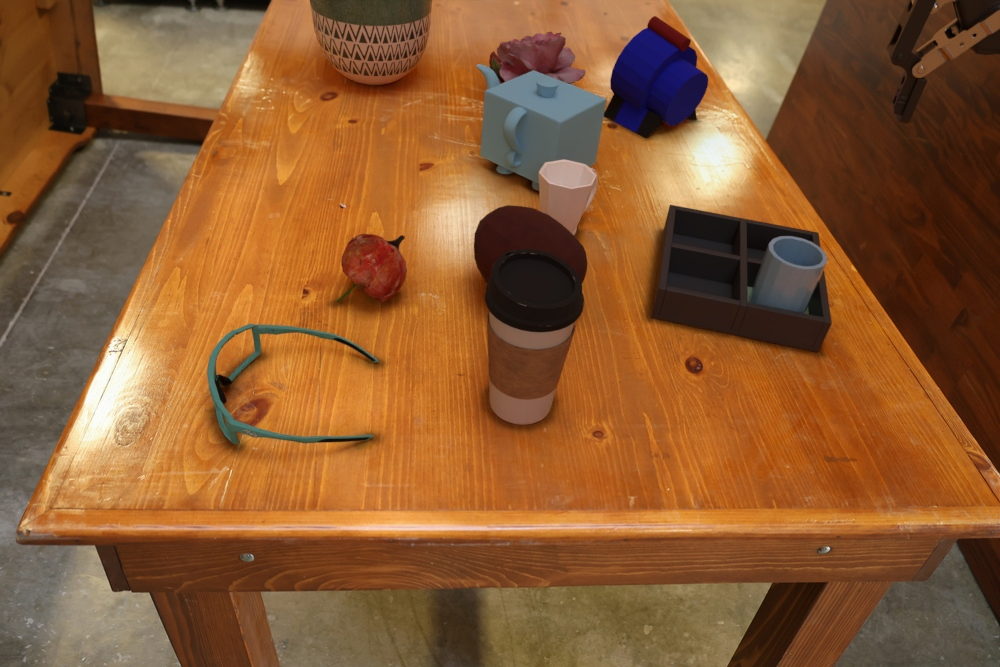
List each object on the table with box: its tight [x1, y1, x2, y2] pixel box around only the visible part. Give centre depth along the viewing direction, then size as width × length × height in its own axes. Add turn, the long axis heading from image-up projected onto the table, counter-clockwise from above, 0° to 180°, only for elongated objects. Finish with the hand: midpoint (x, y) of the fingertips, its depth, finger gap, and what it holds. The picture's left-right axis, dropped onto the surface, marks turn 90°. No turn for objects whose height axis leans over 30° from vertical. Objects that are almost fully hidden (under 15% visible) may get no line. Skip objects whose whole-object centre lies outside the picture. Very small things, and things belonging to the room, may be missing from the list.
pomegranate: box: [336, 233, 408, 303], centre depth 82 cm, size 7×7×10 cm
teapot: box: [476, 63, 607, 192], centre depth 105 cm, size 18×16×13 cm
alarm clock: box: [604, 15, 709, 139], centre depth 118 cm, size 12×12×15 cm
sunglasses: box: [206, 323, 380, 445], centre depth 70 cm, size 14×15×5 cm
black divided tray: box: [650, 204, 833, 353], centre depth 89 cm, size 18×18×4 cm
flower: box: [488, 31, 587, 84], centre depth 125 cm, size 15×15×10 cm
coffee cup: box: [484, 249, 585, 426], centre depth 68 cm, size 8×8×15 cm
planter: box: [309, 0, 433, 86], centre depth 120 cm, size 20×20×21 cm
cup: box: [538, 159, 599, 236], centre depth 95 cm, size 7×10×8 cm
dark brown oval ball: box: [473, 204, 588, 284], centre depth 82 cm, size 11×13×10 cm
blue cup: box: [748, 236, 828, 314], centre depth 83 cm, size 6×6×8 cm
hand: (957, 129), depth 61 cm, fingers open, 8 cm apart
